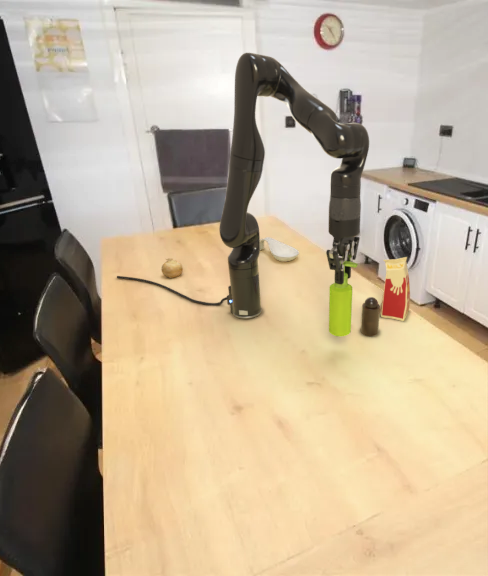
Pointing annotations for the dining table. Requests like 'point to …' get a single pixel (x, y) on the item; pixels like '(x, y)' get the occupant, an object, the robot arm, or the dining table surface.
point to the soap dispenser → (341, 305)
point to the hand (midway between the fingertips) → (342, 280)
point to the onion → (171, 268)
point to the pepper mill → (370, 317)
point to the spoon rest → (280, 249)
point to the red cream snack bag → (396, 290)
